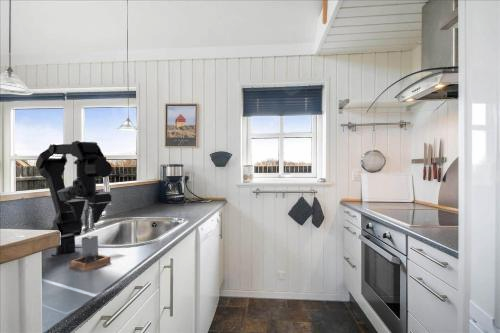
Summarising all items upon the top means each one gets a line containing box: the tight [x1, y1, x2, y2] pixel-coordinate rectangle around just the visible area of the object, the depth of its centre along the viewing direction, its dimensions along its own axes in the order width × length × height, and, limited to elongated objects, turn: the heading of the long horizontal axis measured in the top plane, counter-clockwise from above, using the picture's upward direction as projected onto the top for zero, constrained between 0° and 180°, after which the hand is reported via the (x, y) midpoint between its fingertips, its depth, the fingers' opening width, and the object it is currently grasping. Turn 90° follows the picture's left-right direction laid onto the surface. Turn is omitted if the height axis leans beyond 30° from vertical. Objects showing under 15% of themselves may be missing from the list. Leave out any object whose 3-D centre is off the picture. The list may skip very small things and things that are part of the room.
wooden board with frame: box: [69, 253, 126, 272], centre depth 86 cm, size 12×16×3 cm
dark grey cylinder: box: [81, 235, 99, 264], centre depth 83 cm, size 4×4×9 cm
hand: (86, 222), depth 90 cm, fingers open, 9 cm apart
